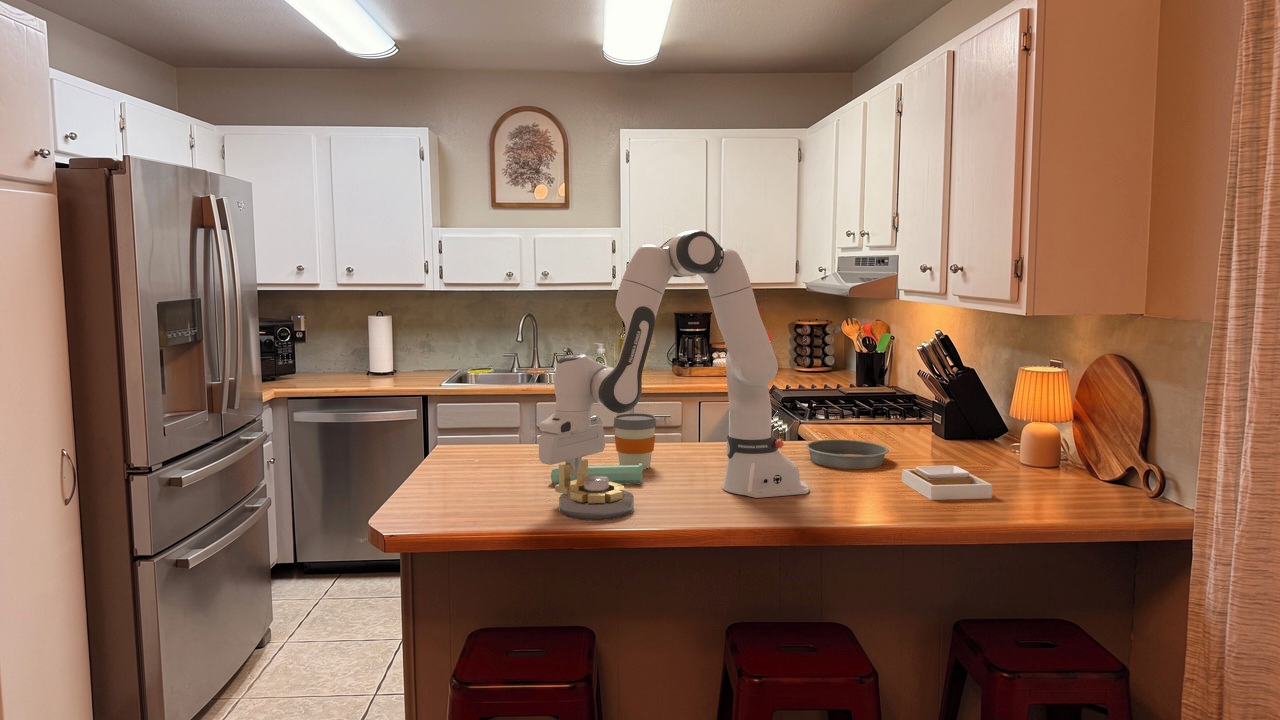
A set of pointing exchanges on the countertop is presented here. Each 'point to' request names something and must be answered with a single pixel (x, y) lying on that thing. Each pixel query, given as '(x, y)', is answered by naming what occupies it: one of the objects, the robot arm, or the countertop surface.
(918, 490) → the dish tray
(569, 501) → the grey round piece
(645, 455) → the reusable coffee cup
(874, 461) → the cake pan
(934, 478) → the soap dish
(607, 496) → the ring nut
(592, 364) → the robot arm
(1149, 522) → the countertop surface
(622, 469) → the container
